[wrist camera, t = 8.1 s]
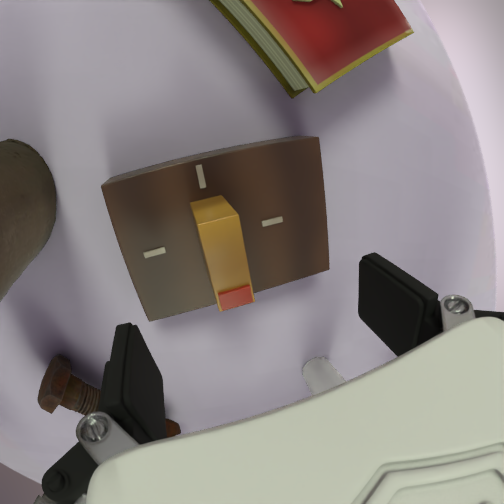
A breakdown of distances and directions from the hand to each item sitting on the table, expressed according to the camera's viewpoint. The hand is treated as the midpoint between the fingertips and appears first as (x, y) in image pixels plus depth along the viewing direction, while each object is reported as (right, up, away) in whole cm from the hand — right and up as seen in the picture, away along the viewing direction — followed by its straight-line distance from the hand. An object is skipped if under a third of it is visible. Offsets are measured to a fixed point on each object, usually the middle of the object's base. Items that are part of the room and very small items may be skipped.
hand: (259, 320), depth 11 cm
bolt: (-14, -12, +14) cm, 24 cm away
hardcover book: (+1, +25, +3) cm, 25 cm away
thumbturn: (-3, +4, +7) cm, 9 cm away
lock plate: (-3, +5, +10) cm, 12 cm away
